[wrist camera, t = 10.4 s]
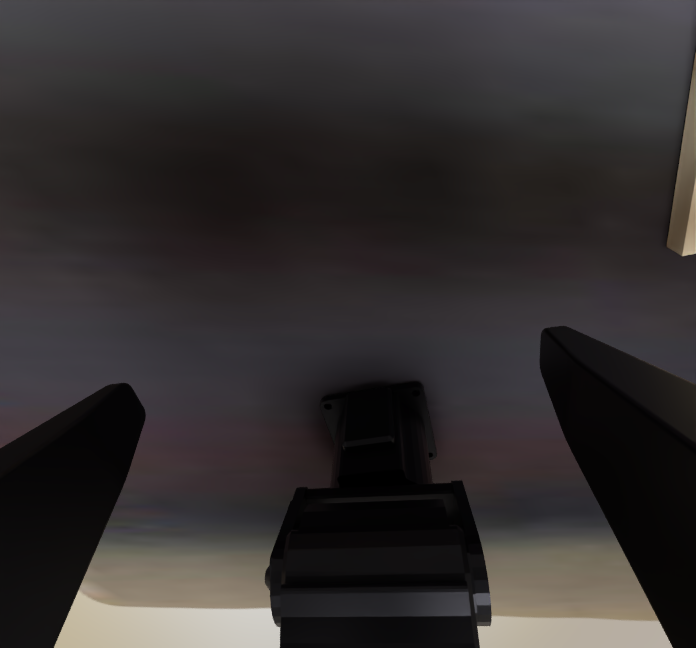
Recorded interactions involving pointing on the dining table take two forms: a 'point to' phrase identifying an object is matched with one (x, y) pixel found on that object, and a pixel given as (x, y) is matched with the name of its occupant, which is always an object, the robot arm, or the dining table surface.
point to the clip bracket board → (686, 185)
